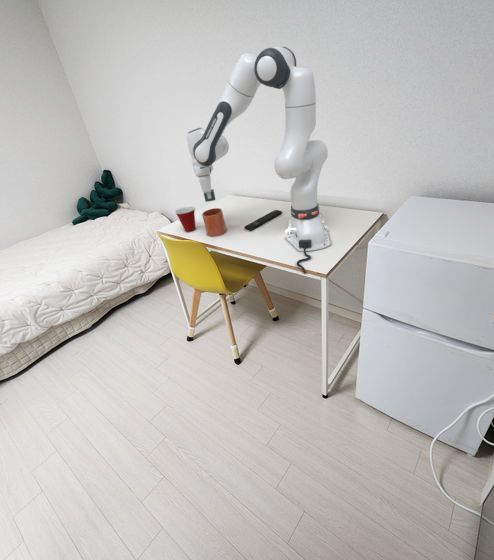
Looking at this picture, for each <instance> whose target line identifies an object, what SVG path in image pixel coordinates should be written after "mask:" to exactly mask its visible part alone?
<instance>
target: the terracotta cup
mask: <svg viewBox="0 0 494 560" xmlns="http://www.w3.org/2000/svg"><path fill="white" fill-rule="evenodd" d="M201 216H202V220H203V223H204V227H205V231H206V235H207V236H208V237H211V238H212V237H219V236H222V235H224V234H225V233H226V232H227V226H226V222H225V217H224V212H223V209H221V208H220V207H219V208H217V207H214V208H210V209H206V210H204V211H203V212H202V213H201Z"/></svg>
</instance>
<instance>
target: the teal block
mask: <svg viewBox="0 0 494 560" xmlns="http://www.w3.org/2000/svg"><path fill="white" fill-rule="evenodd" d="M203 197H204V201H205V203H207V202H208V203H209V202H213V201H216V194H215V190H214V188H211V199H208V197H207V194H206V193H204V192H203Z"/></svg>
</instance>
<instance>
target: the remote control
mask: <svg viewBox="0 0 494 560" xmlns="http://www.w3.org/2000/svg"><path fill="white" fill-rule="evenodd" d="M281 214H283V211H282V210H279V209H274V210H272V211H270V212H268V213H266V214H264V215H263V216H260V217H259V218H258V219H256V220H255V219H254V221H251V222H250V223H248V224H247V225H245V226H243V228H244V229H245V230H246V231H252V230H254V229H256V228H258V227H259V226H261V225H263V224H265V223H267V222H268V221H270V220H272V219H274V218H275V217H277V216H279V215H281Z"/></svg>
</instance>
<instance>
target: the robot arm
mask: <svg viewBox="0 0 494 560" xmlns="http://www.w3.org/2000/svg"><path fill="white" fill-rule="evenodd" d="M261 84H262V85H263V86H265V87H269V88H273V89H276V90H282V91H283V95H284V111H285V113H284V115H285V116H284V117H285V131H284V136H283V141H282V145H281V147H280V150H279V152H278V154H277V156H276V157H275V159H274V164H273V166H274V171H275V173H276V175H277V176H278V177H279V178H281V179H283V180H289V179H294V181H293V183H292V185H291V187H290V190H289V191H290V203H291V206H290V214H291V217H290V219H288V228H287V229H286V230H285V231H284V232H285V233H288V234H287V235H285V239H286V240H287V241H288V242H289V243H290V244H291V245H292V246H293V247H294V248H295V249H296V250H297V251H298V252H303V254H304V256H306V258H301V259H298V260H297V262H296V265H297V266H298V267H300V268H301V269H302V271H303V272H302V273H303V274H304V275H305V274H306V273H307V272H306V268H305V267H304V266H303V265H302V264H300V263H301V262H303V261H308V260H310V259H311V258H312V256H311V255H309V254H308V253H307V252H311V251H318V250H322V249H325V248H327V247H330V246H331V239H330V236H329V233H328V225H327V224H324V223H325V219H324V218H322V213H320V205H319V202H318V184H319V179H320V175H321V172H322V168H323V166H324V163H325V162H326V160H327V158H328V156H329V155H328V154H329V152H328V147H327V145H326V143H324V142H323V141H322V140H318V139H316V140H315V139H313V140H310V137H311V135H312V133H313V132H314V130H315V128H316V126H317V125H316V124H317V110H316V109H317V96H316V95H317V93H316V84H315V78H314V74H313V72H312V70H311V69H310V68H308V67H304V66H300V67H299V66H298V67H297V59H296V55H295V54H294V52H293V51H292V50H291V49H290V48H288V47H286V46H280V45H277V46H271V47H267V48H264V49H263V50H262V51H260V53H258V55H256V54H253V53H251V52H245V53H243V54H242V55H241V56H240V57H239V58H238V60H237V61H236V63H235V65H234V67H233V69H232V70H231V73H230V75H229V77H228V80H227V82H226V84H225V87H224V90H223V92H222V94H221V97H220V99H219V101H218V103H217V106H216V108H215V110H214V112H213V114H212V116H211V118H210V119H209V122H208V124H207V126H206V127H205V129H204V128H203V127H197V128H195V129H192V130H190V131H188V132H187V134H186V143H187V148H188V152H189V154H190V156H191V165H192V168H193V172H194V174H195V175H196V178H198V181H199V185H200V187H201V190H202V192H203V194H204V193H206V194H207V197H208V199H211V189H212V178H211V175H212V171H213V170H214V165H213V164H214V163H215V162H217V161H218V160H221V158H223V157H225V156H226V155H227V154H228V152H229V147H230V146H229V142H228V140H227V139H226V137H225V136H224V135H223V134H224V132H225V130H226V128H227V127H228V126H229V125H230V123H231V122H232V121H234V120H235V119H236V118H238V117H239V116H241V115H242V114H244V113H245V112H246V110H247V109H248V108H249V106H250V105H251V103H252V102H253V100H254V98H255V96H256V94H257V91H258V89H259V87H260V86H261Z"/></svg>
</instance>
